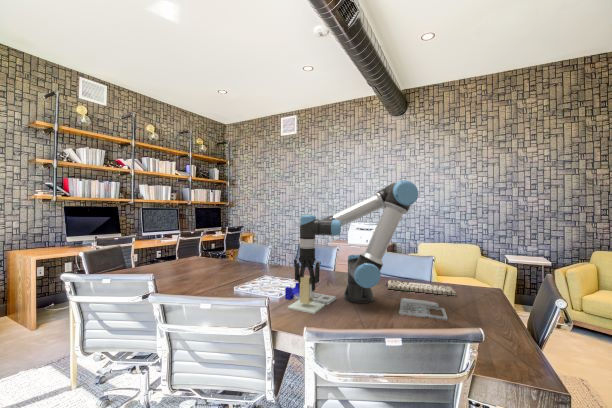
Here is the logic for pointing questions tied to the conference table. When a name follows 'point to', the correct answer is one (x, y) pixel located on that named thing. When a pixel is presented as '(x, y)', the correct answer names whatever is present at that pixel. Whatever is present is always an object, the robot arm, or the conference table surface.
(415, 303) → the grey flat slab
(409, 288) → the mechanical keyboard
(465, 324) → the conference table surface
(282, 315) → the conference table surface
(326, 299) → the grey plate with holes
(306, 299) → the tan rectangular block
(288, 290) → the cable clip
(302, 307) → the sage pad
